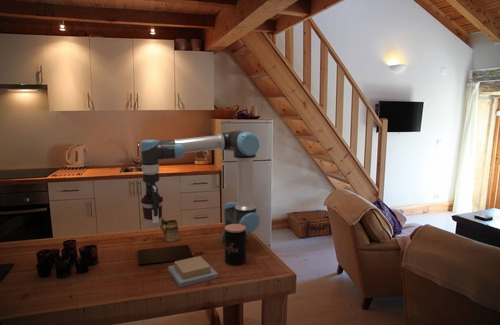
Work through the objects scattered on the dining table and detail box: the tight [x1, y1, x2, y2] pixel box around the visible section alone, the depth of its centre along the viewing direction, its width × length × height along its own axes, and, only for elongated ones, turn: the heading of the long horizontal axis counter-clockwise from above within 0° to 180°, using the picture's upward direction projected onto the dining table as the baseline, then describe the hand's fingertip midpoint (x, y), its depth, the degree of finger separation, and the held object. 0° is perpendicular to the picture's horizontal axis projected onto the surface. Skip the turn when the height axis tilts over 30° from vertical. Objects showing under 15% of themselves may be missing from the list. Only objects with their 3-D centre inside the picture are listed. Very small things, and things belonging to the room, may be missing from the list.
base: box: [167, 255, 219, 288], centre depth 162 cm, size 18×18×5 cm
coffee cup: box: [140, 193, 164, 229], centre depth 165 cm, size 10×10×15 cm
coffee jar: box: [224, 224, 247, 266], centre depth 176 cm, size 11×11×18 cm
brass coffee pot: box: [159, 216, 181, 243], centre depth 203 cm, size 9×14×18 cm, turn 103°
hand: (153, 219), depth 165 cm, fingers closed on coffee cup, 9 cm apart
